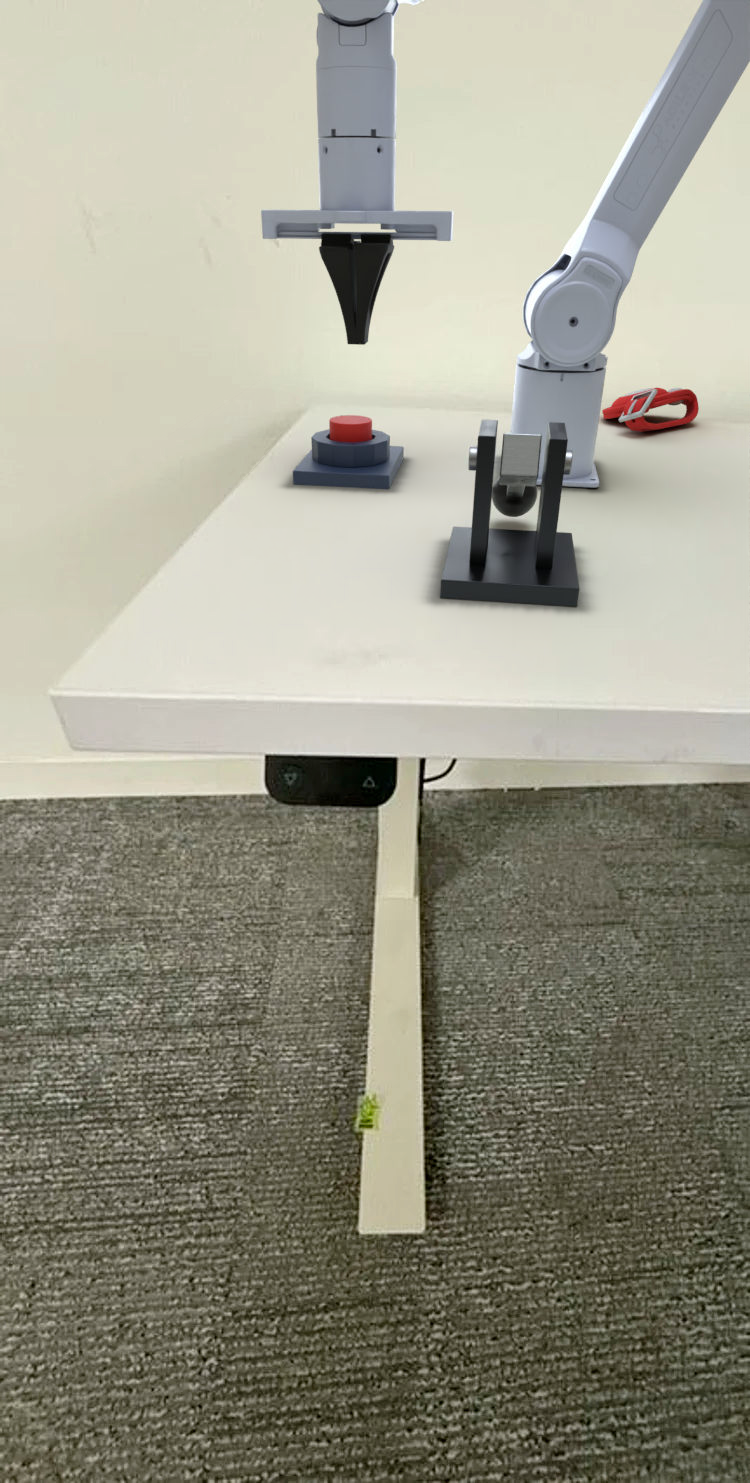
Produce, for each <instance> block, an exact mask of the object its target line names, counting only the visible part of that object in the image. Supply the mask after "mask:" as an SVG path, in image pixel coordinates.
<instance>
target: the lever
mask: <svg viewBox="0 0 750 1483" xmlns="http://www.w3.org/2000/svg"><path fill="white" fill-rule="evenodd" d="M541 439H542V435H539V434H515V433H510V432H504V433H503V435H502V447H501V458H500V466H499V467H500V469H499V476H498V477H497V479H496V480H495V481H494V482H493V488H492V501H491V502H492V503H493V506H494V508H495V509H496V510H497V512H498V513H500V514H502V515H504V516H505V517H510V518H518V517H521V516H523V515H525V514H527V513H529V512H530V511H531V510H532V509H533V507H534V506H535V504H536V501H537V499H538V485H536V482H537V478H538V473H539V461H540V450H541Z"/></svg>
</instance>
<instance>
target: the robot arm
mask: <svg viewBox="0 0 750 1483" xmlns="http://www.w3.org/2000/svg"><path fill="white" fill-rule="evenodd" d="M424 1H425V0H317V2H318V4H319V5H320V8H321V10H322V12H317V27H316V31H315V32H316V33H315V34H316V36H315V37H316V45H317V47H318V48H317V50H318V51H317V52H318V54H317V58H316V61H315V80H316V81H315V82H316V85H315V86H316V114H317V115H316V120H317V121H316V122H317V125H316V126H317V155H318V156H317V159H318V160H317V161H318V198H319V201H318V202H319V204H318V206H319V209H261V211H260V215H261V216H260V217H261V231H262V232H261V234H262V239H263V240H277V239H285V240H286V239H290V240H291V239H293V240H294V239H295V240H298V239H299V240H303V239H304V240H306V239H307V240H321V241H320V246H319V247H318V252H319V255H320V258H321V260H322V262H323V264H324V266H325V269H326V270H327V273H328V275H329V278H330V281H331V283H332V285H333V289H334V291H335V295H336V297H337V299H338V303H339V306H340V310H341V315H342V318H343V322H344V329H345V333H346V342H347V345H359V346H362V345H363V346H364V345H366V344H367V343H368V342H369V334H370V326H371V320H372V315H373V311H374V307H375V303H376V299H377V296H378V292H379V289H380V287H381V283H382V281H383V278H384V276H385V273H386V271H387V267H388V266H389V263H390V261H391V258H392V256H393V253H394V250H395V245H394V241H436V242H451V241H453V235H454V234H453V233H454V211H453V210H396V164H397V163H396V162H397V161H396V158H397V150H396V149H397V140H396V139H397V90H398V88H397V86H398V85H397V84H398V79H397V78H398V77H397V76H398V63H397V60H396V57H395V56H394V53H395V52H394V50H395V49H394V45H395V44H394V43H395V41H394V38H395V16H396V15H397V12H398V10H399V7H400V4H410V5H412V6H416V5H418V4H420V3H421V2H424ZM749 64H750V0H702V2H701V3H700V5H699V7H698V9H697V10H696V13H694V16H693V17H692V19H691V21H690V23H689V25H688V27H687V29H686V31H685V32H684V34H683V36H682V38H681V40H680V42H679V44H678V46H677V47H676V49H675V51H674V52H673V54H672V56H671V59H670V60H669V62H668V63H667V65H666V68H665V69H664V71H663V73H662V75H661V77H660V79H659V81H658V82H657V84H656V85H655V88H654V89H653V91H652V94H651V95H650V97H649V99H648V101H647V103H646V105H645V106H644V108H643V110H642V111H641V114H640V116H639V117H638V119H637V121H636V123H635V125H634V126H633V128H632V130H631V132H630V134H629V136H628V137H627V140H626V141H625V143H624V144H623V147H622V148H621V151H620V152H619V154H618V155H617V158H616V159H615V161H614V163H613V165H612V167H611V168H610V171H609V172H608V174H607V175H606V178H605V180H604V182H603V184H602V185H601V187H600V189H599V191H598V192H597V195H596V196H595V198H594V200H593V202H592V204H591V206H590V208H589V209H588V211H587V213H586V214H585V217H584V219H582V221H581V223H580V225H579V226H577V228H576V230H575V231H574V233H573V234H572V236H571V238H569V240H568V241H567V243H566V244H565V246H564V248H563V250H562V251H561V254H560V255H559V257H558V258H557V260H556V261H555V262H554V264H553V265H552V266H551V267H550V268H549V269H547V270H546V271H544V272H543V273H542V274H540V275H539V276H538V277H537V278H536V279H535V280H534V281H533V282H532V283H531V285H530V286H529V288H528V290H527V292H526V293H525V294H526V295H525V298H524V299H523V304H522V321H523V326H524V328H525V330H526V333H527V334H528V336H529V338H530V339H531V341H529V342H528V344H527V346H526V347H525V349H524V350H523V351H522V352H520V353H519V354H517V355H516V364H515V374H514V386H513V397H512V409H511V419H510V432H509V433H515V434H539V435H542V439H541V450H540V461H539V473H538V478H537V482H536V486H541V483H542V474H543V465H544V455H545V446H546V437H547V428H548V422H557V423H565V427H566V433H567V438H568V443H567V450H572V451H573V458H572V467H571V473H570V475H564V476H563V484H562V487H571V488H572V487H573V488H599V487H600V479H599V474H598V470H597V468H596V463H595V460H594V458H595V450H596V444H597V438H598V437H597V436H598V430H599V422H600V416H601V408H602V402H603V401H602V400H603V395H604V387H605V381H606V380H605V379H606V371H607V365H608V359H609V357H608V356H606V354H605V353H602V352H603V350H604V349H605V348H606V347H607V345H608V344H609V342H610V340H611V339H612V336H613V333H614V331H615V327H616V322H617V312H618V306H619V303H620V300H621V298H622V296H623V294H624V292H625V290H626V288H627V287H628V285H629V283H630V281H631V279H632V277H633V273H634V270H635V267H636V264H637V263H636V262H637V259H638V256H639V253H640V250H641V248H642V247H643V245H644V243H645V242H646V240H647V238H648V237H649V235H650V233H651V231H652V230H653V229H654V227H655V225H656V223H657V221H658V219H659V218H660V216H661V214H662V213H663V211H664V209H665V207H666V206H667V204H668V202H669V201H670V199H671V197H672V195H673V193H674V192H675V190H676V189H677V187H678V185H679V184H680V182H681V180H682V179H683V177H684V175H685V173H686V171H687V170H688V168H689V166H690V164H691V163H692V161H693V160H694V158H695V156H696V154H697V152H698V151H699V149H700V148H701V146H702V144H703V142H704V141H705V139H706V137H707V135H708V134H709V132H710V131H711V129H712V127H713V125H714V123H715V122H716V121H717V118H718V117H719V115H720V113H721V111H722V110H723V108H724V106H725V105H726V103H727V101H728V100H729V97H730V96H731V94H732V93H733V91H734V89H735V87H736V85H737V84H738V82H739V81H740V80H741V77H742V75H743V74H744V72H745V70H746V69H747V67H748V65H749ZM335 224H342V225H343V224H344V225H345V224H346V225H349V224H351V225H352V224H353V225H355V224H356V225H358V224H359V225H360V224H362V225H364V224H365V225H369V224H370V225H371V224H372V225H375V224H376V225H380V230H386V231H326V230H333V229H335ZM321 230H325V231H321ZM388 230H389V231H388ZM391 230H393V231H391Z"/></svg>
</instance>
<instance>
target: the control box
mask: <svg viewBox="0 0 750 1483" xmlns="http://www.w3.org/2000/svg"><path fill="white" fill-rule="evenodd" d="M310 438H311V449H310V451H309V452H308V453H306V455H305V456H304V457H303V459H302V460H301V461H300V462H299V463H298V464H297V465H296V467H295V468H294V469H293V471H292V485H293V486H312V487H313V486H314V487H330V488H331V487H333V488H354V489H372V490H390V488H391V487H392V484H393V482H394V480H395V478H396V476H397V473H398V471H399V469H400V467H401V465H402V464H403V461H404V453H405V452H404V451H405V450H404V449H405V448H404V446H400V445H391V435H389V434H387V433H386V432H384V431H382V430H377V429H372V440H369V441H364V442H338V441H333V440H330V428H329V429H325V430H320V431H316V432H315V433H314V434H313V435H312V436H311V437H310Z"/></svg>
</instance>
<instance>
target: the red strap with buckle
mask: <svg viewBox="0 0 750 1483" xmlns="http://www.w3.org/2000/svg"><path fill="white" fill-rule="evenodd" d="M679 405H683V406H685V408H686V411H685V414H684V416H683V417H681V418H677V419H673V420H668V421H663V422H658V423H653V422H649V421H646V419H645V417H644V414H646V413H649V411H650V410H652V409H657V408H659V407H664V406H679ZM601 412H602V417H603V419H604V420H610V419H616V418H618V422H619V423H623V422H624V423H625V425H626V427H627V428H629V429H630V431H634V432H639V433H641V432H650V431H655V430H662V429H666V428H671V427H676V426H681V425H686V424H690V423H692V422H693V421H694V420H695V419H696V418H697V416H698V414H699V401H698V397H697V395H696V394H695V393H694V392H693V390H691V389H690V388H689V389H688V388H685V389H684V388H682V387H674V388H670V389H669V390H666V389H664V388H661V387H648V388H641V389H637V390H634V391H631V392H628V393H626V394H624V395H622V396H619V397H618V398H617V399H614V401H613V402H612V403H611V405H610V406H609V407H606V408H604V409H602V410H601Z"/></svg>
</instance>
